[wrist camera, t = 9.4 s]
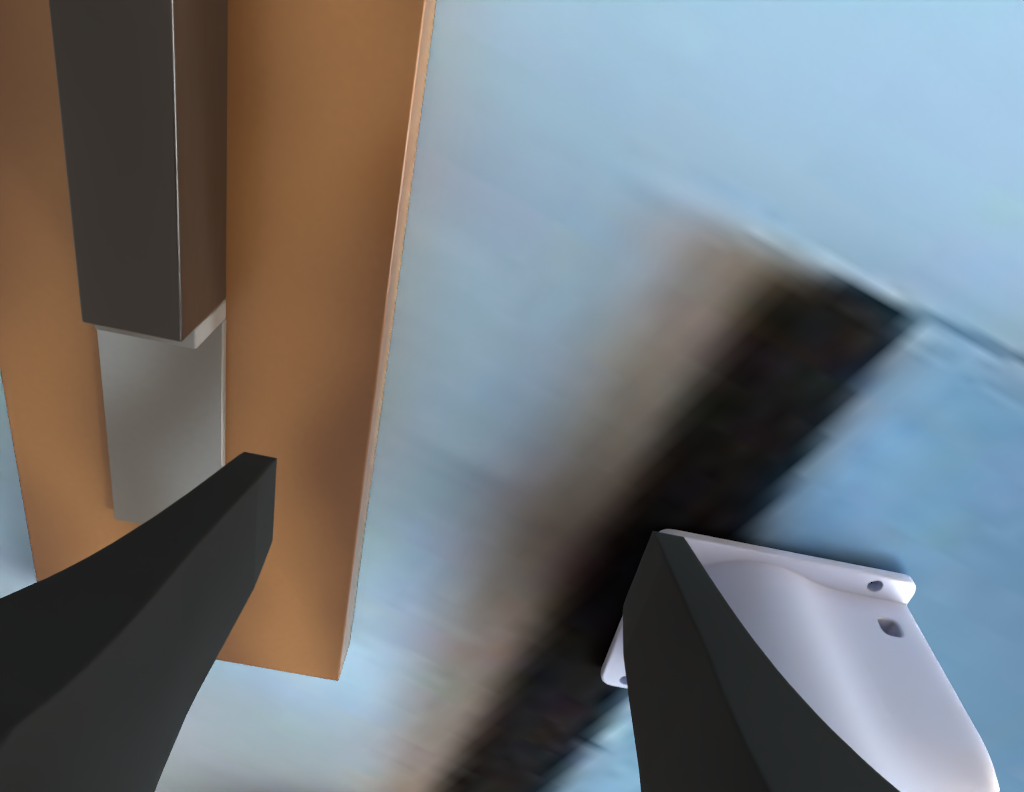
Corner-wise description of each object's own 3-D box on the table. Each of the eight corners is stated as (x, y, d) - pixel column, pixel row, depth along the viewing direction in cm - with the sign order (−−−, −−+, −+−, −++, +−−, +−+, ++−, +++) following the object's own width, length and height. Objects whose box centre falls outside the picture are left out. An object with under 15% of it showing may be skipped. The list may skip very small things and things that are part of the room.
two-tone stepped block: (229, -34, 16) (171, -36, 13) (225, 533, 24) (188, 595, 22) (66, -72, 16) (-22, -80, 13) (119, 513, 24) (70, 574, 22)
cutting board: (455, -137, 16) (445, -150, 15) (349, 644, 29) (338, 681, 28) (-49, -262, 16) (-116, -288, 14) (72, 594, 29) (44, 630, 27)
